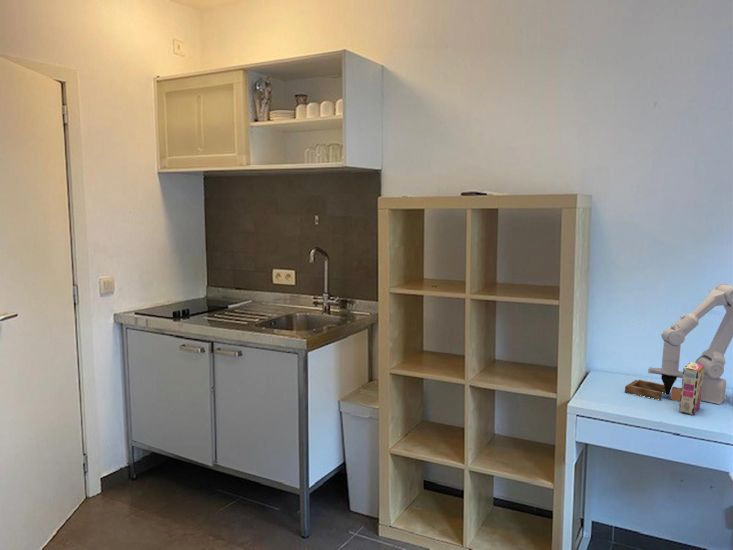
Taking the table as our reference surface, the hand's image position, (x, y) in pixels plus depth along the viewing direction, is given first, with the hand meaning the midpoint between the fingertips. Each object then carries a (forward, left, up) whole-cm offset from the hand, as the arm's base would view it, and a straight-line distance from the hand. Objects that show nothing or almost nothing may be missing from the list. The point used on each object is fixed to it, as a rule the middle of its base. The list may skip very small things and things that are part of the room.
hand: (667, 394), depth 226 cm
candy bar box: (-10, +8, -2) cm, 13 cm away
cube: (-3, -1, -1) cm, 3 cm away
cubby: (+7, 0, -1) cm, 8 cm away
